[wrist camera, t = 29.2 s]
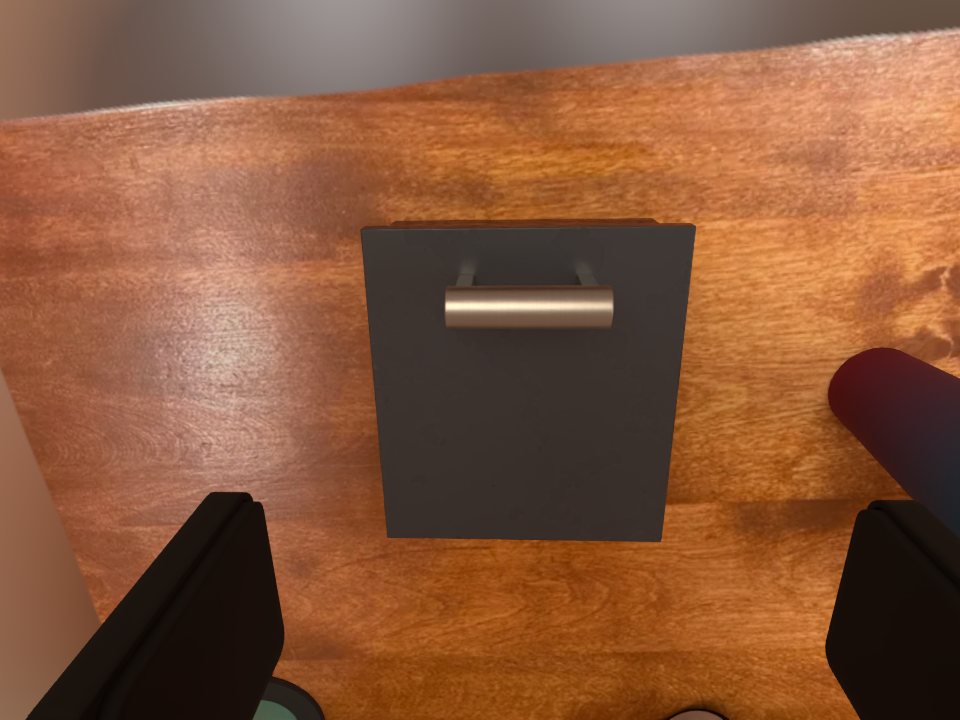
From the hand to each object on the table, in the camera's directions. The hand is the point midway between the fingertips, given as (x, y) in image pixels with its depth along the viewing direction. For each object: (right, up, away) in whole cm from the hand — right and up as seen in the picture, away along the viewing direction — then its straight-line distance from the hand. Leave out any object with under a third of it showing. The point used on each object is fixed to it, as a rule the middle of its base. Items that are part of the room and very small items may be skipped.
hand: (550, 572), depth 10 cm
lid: (+1, +2, +19) cm, 19 cm away
